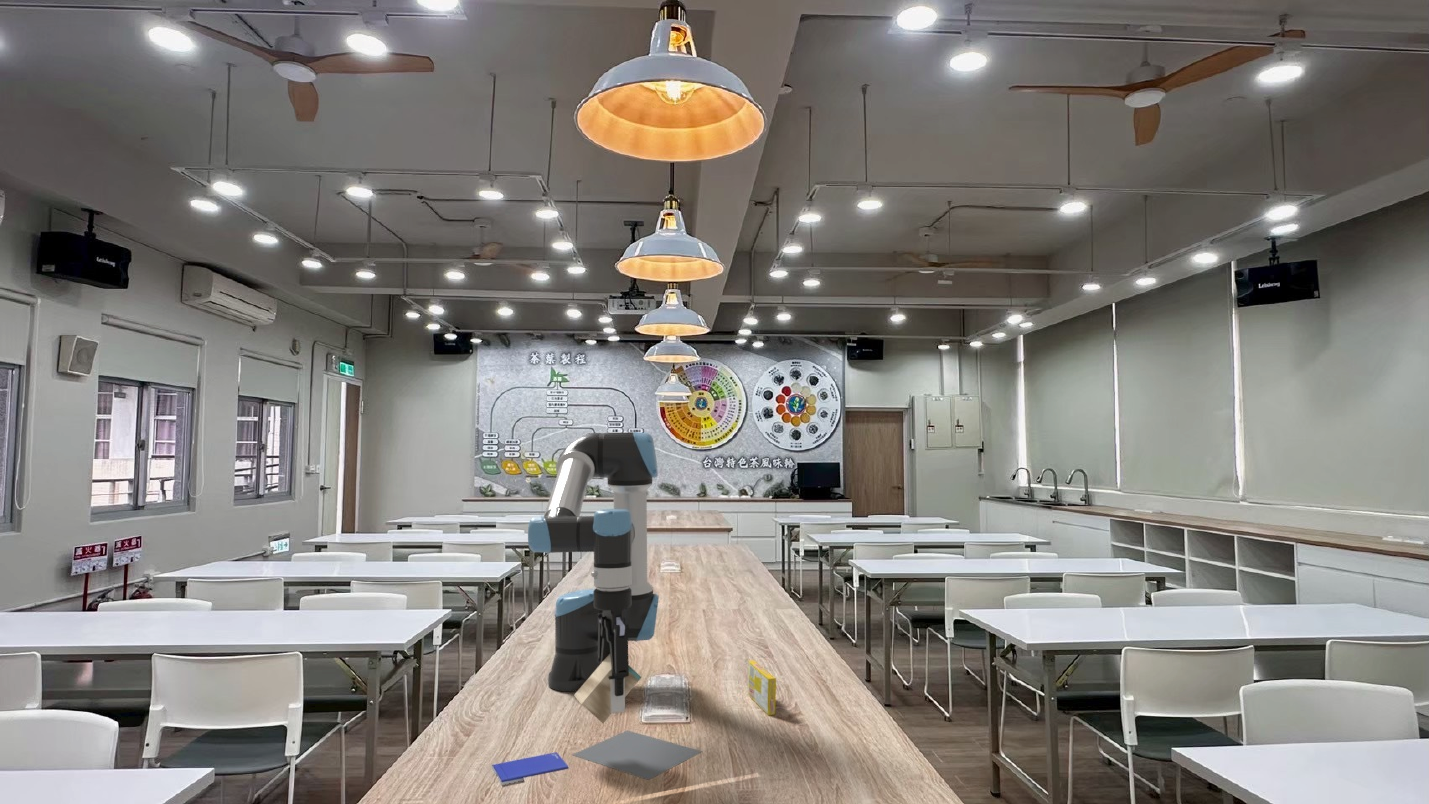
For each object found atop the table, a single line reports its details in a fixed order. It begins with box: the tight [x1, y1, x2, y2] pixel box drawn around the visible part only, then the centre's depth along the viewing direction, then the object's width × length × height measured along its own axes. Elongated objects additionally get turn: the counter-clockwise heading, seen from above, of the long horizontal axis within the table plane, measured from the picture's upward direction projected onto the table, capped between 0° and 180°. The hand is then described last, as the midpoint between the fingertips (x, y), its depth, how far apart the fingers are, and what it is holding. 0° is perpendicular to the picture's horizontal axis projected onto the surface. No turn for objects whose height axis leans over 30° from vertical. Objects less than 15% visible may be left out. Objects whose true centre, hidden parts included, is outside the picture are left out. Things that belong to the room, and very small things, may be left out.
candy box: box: [747, 660, 777, 716], centre depth 182 cm, size 16×2×8 cm, turn 15°
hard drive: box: [491, 751, 569, 786], centre depth 145 cm, size 2×8×12 cm
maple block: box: [573, 654, 642, 724], centre depth 152 cm, size 6×6×11 cm
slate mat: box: [571, 729, 703, 781], centre depth 151 cm, size 20×16×1 cm
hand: (612, 706), depth 152 cm, fingers closed on maple block, 6 cm apart
